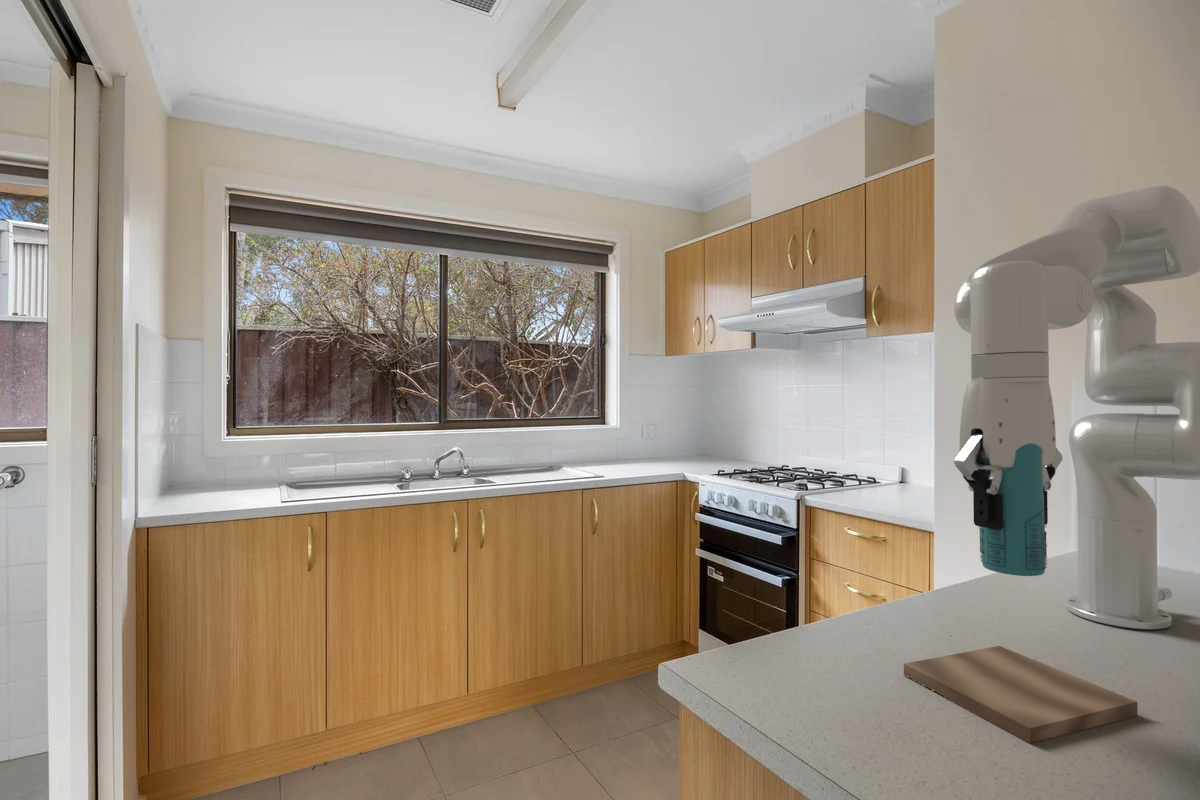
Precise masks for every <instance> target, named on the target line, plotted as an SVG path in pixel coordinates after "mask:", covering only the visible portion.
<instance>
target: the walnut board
mask: <svg viewBox="0 0 1200 800" xmlns="http://www.w3.org/2000/svg"><path fill="white" fill-rule="evenodd" d="M904 675H905V676H904ZM903 676H904V677H906V676H908V677H910V678H911V679H913V680H915V681H917V682H919V683H921V684H923V685H925V686H926V687H928V688H930V689H933V690H934V691H936V692H937V693H939V694H941V695H943V696H944V697H943V696H942V697H943V698H945V697H946V698H948V699H949V700H948V699H947V700H948V701H950V700H951V702H952V701H953V702H952V703H954V702H955V703H954V704H956V703H957V704H956V705H957V706H959V705H960V707H961V706H962V707H961V708H963V707H964V709H965V708H966V709H965V710H967V711H969V712H971V713H972V712H973V714H974V715H976V716H978V717H980V718H982V719H984V720H986V721H987V722H989V723H991V724H993V725H994V726H996V727H998V728H999V729H1000V728H1001V729H1002V730H1004V731H1006V732H1008V733H1009V734H1011V735H1014V736H1015V737H1017V738H1018V739H1020V740H1022V741H1025V742H1026V743H1028V744H1033V743H1038V742H1041V741H1042V742H1043V741H1044V740H1049V739H1053V738H1056V737H1061V736H1064V735H1068V734H1072V733H1075V732H1079V731H1084V730H1087V729H1090V728H1096V727H1099V726H1102V725H1103V726H1104V725H1106V724H1110V723H1115V722H1119V721H1122V720H1126V719H1129V718H1133V717H1138V713H1139V712H1138V709H1139V708H1138V701H1136V700H1134V699H1132V698H1129V697H1128V696H1124V695H1122V694H1120V693H1117V692H1114V691H1112V690H1109V689H1107V688H1105V687H1101V686H1099V685H1098V684H1094V683H1093V682H1090V681H1087V680H1085V679H1082V678H1080V677H1077V676H1075V675H1072V674H1070V673H1067V672H1065V671H1063V670H1060V669H1058V668H1056V667H1052V666H1050V665H1047V664H1045V663H1044V662H1041V661H1037V660H1036V659H1033V658H1031V657H1028V656H1026V655H1023V654H1021V653H1018V652H1015V651H1013V650H1011V649H1008V648H1006V647H1003V646H1001V645H997V646H991V647H987V648H981V649H979V648H978V649H974V650H970V651H964V652H959V653H954V654H948V655H943V656H936V657H933V658H928V659H927V658H926V659H920V660H917V661H911V662H905V663H903ZM911 679H910V680H911ZM913 680H912V681H913ZM915 681H914V682H915ZM917 682H916V683H917ZM919 683H918V684H919ZM926 687H925V688H926ZM928 688H927V689H928ZM930 689H929V690H930ZM937 693H936V694H937ZM939 694H938V695H939ZM941 695H940V696H941ZM946 698H945V699H946Z"/></svg>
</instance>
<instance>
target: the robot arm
mask: <svg viewBox="0 0 1200 800" xmlns="http://www.w3.org/2000/svg"><path fill="white" fill-rule="evenodd" d="M1199 272H1200V216H1199V215H1198V213H1197V212H1196V210H1195V208H1194V206H1193V205H1192V202H1190V200H1189V199H1188V198H1187V197H1186V196H1185V194H1183V193H1182V192H1181V191H1180V190H1178V189H1176V188H1174V187H1172V186H1168V185H1156V186H1155V185H1154V186H1150V187H1149V186H1148V187H1144V188H1139V189H1135V190H1130V191H1125V192H1121V193H1116V194H1111V195H1107V196H1102V197H1098V198H1094V199H1089V200H1086V201H1083V202H1080V203H1078V204H1076V205H1074V206H1072V207H1070V208H1069V209H1068V210H1066V211H1065V212H1064V213H1063V214H1062V215H1061V217H1059V219H1058V220H1057V221H1056V222H1055V223H1054V224H1053V225H1052V226H1051V228H1050V229H1048V230H1047V232H1045V234H1043V235H1042V236H1040V237H1037V238H1035V239H1033V240H1030V241H1028V242H1026V243H1023V244H1021V245H1019V246H1017V247H1015V248H1013V249H1011V250H1009V251H1006V252H1003V253H1001V254H999V255H997V256H995V257H993V258H991V259H989V260H987V261H985V262H983V263H982V264H980V265H979V266H978V267H976V268H975V269H974V270H973V271H972V273H970V275H968V276H967V277H966V278H965V280H964V281H963V283H962V284H961V285H960V287H959V289H958V291H957V293H956V296H955V299H954V305H953V308H954V316H955V319H956V322H957V324H958V326H959V327H960V328H961V329H962V330H964V331H965V332H967V333H968V334H970V366H971V367H970V373H971V375H970V376H971V377H970V379H971V380H970V381H971V382H967V383H966V387H965V391H964V396H963V400H962V405H961V406H962V407H961V413H960V414H961V415H960V424H959V425H960V427H959V450H958V452H959V453H958V454H957V456H956V457H955V459H954V461H953V464H954V466H955V467H956V468H957V469H958V471H959V472H960V473H961V475H962V477H963V479H964V481H966V483H967V484H968V490H969V491H971V492H973V500H972V501H973V525H975V526H976V527H979V526H980V527H979V528H981V527H985V528H989V529H994V530H1001V529H1002V527H1003V498H1002V494H996V493H997V492H998V489H999V486H1000V482H1001V479H1002V476H1003V472H1004V470H1007V469H1009V468H1011V467H1013V464H1014V460H1015V456H1016V455H1015V452H1016V450H1017V449H1019V448H1020V447H1022V446H1023V445H1026V444H1030V443H1032V444H1036V445H1038V446H1040V447H1041V448H1042V449H1043V454H1042V465H1043V493H1044V506H1045V507H1046V508H1045V507H1044V509H1045V510H1046V512H1045V513H1044V515H1045V514H1046V515H1045V516H1044V517H1046V518H1044V519H1045V521H1046V522H1045V523H1046V524H1045V526H1047V525H1048V521H1049V519H1048V518H1049V517H1048V516H1049V515H1048V513H1049V512H1048V507H1049V506H1048V491H1050V490H1051V488H1052V481H1051V480H1052V479H1053V478H1054V476H1055V474H1056V471H1057V468H1058V467H1059V466H1060V464H1061V463H1062V462H1063V454H1062V453H1061V451H1059V449H1058V448H1057V446H1056V444H1057V442H1056V441H1057V437H1056V435H1057V434H1056V433H1057V431H1056V421H1055V420H1056V419H1055V411H1054V403H1053V398H1052V397H1053V396H1052V392H1051V391H1052V390H1051V388H1050V387H1051V386H1050V378H1049V377H1050V373H1049V372H1050V369H1049V368H1050V365H1049V364H1050V363H1049V359H1050V358H1049V357H1050V355H1049V331H1052V330H1053V331H1055V330H1061V329H1062V330H1063V329H1066V328H1072V327H1073V326H1076V325H1078V324H1080V323H1082V321H1084V320H1085V322H1086V338H1085V339H1086V341H1085V342H1086V343H1085V355H1084V356H1085V357H1084V359H1085V361H1084V389H1085V392H1086V395H1087V396H1088V398H1089V400H1091V401H1092V402H1094V403H1096V404H1100V405H1105V406H1106V405H1107V406H1122V407H1123V406H1124V407H1127V406H1129V407H1130V406H1131V407H1142V406H1143V407H1162V406H1163V407H1173V408H1176V409H1179V413H1178V414H1176V413H1175V414H1172V413H1170V414H1169V413H1167V414H1166V413H1163V414H1161V413H1133V412H1132V413H1130V412H1129V413H1128V412H1127V413H1122V412H1121V413H1117V412H1116V413H1115V412H1114V413H1113V412H1112V413H1108V412H1107V413H1096V414H1091V415H1086V416H1084V417H1082V418H1079V419H1078V420H1077V421H1075V422H1074V423H1073V425H1072V426H1071V427H1070V430H1069V435H1068V437H1069V439H1068V444H1069V449H1070V455H1071V459H1072V463H1073V469H1074V475H1075V482H1076V483H1075V484H1076V485H1075V486H1076V503H1077V505H1076V506H1077V507H1076V508H1077V510H1076V511H1077V512H1076V513H1077V517H1076V518H1077V519H1076V520H1077V583H1078V585H1077V587H1078V588H1077V589H1078V590H1077V593H1078V595H1074V596H1071V597H1069V598H1067V599H1066V601H1065V602H1066V604H1065V606H1066V609H1067V610H1068V611H1070V612H1071V613H1072V614H1074V615H1076V616H1078V617H1081V618H1082V619H1083V618H1084V619H1085V620H1086V619H1087V620H1090V621H1093V622H1097V623H1101V624H1105V625H1110V626H1115V627H1119V628H1127V629H1135V630H1149V631H1151V630H1164V629H1167V628H1169V627H1171V626H1172V625H1173V618H1172V616H1171V615H1170V613H1168V612H1166V611H1165V610H1163V609H1160V608H1159V603H1160V602H1161V601H1166V600H1170V599H1172V597H1173V592H1172V591H1171V590H1170V589H1169V588H1168V587H1166V586H1161V587H1158V524H1157V522H1158V521H1157V519H1158V514H1157V513H1158V512H1157V507H1156V503H1155V502H1154V499H1153V498H1152V496H1151V495H1150V494H1149V492H1148V491H1147V490H1145V488H1144V487H1143V486H1142V485H1141V484H1140V483H1139V482H1138V480H1136V479H1135V477H1136V478H1144V477H1146V478H1159V479H1169V480H1170V479H1171V480H1172V479H1173V480H1189V481H1190V480H1191V481H1193V480H1195V481H1200V342H1197V341H1195V342H1194V341H1179V342H1176V341H1175V342H1163V343H1162V342H1161V343H1158V342H1157V338H1156V337H1157V315H1156V312H1155V310H1154V309H1153V307H1152V306H1151V305H1150V304H1149V303H1147V302H1146V301H1145V300H1144V298H1142V297H1140V296H1139V295H1138V294H1136V293H1135V292H1133V291H1132V290H1130V289H1129V288H1127V287H1126V286H1127V285H1136V284H1137V285H1138V284H1145V283H1153V282H1160V281H1169V280H1170V281H1171V280H1177V279H1183V278H1188V277H1191V276H1194V275H1197V273H1199ZM984 461H990V462H989V464H990V465H984ZM985 472H988V473H990V476H989V480H988V479H987V477H986V476H985V475H984V474H985ZM1045 498H1046V499H1045ZM1045 504H1046V505H1045ZM1045 510H1044V511H1045Z"/></svg>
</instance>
